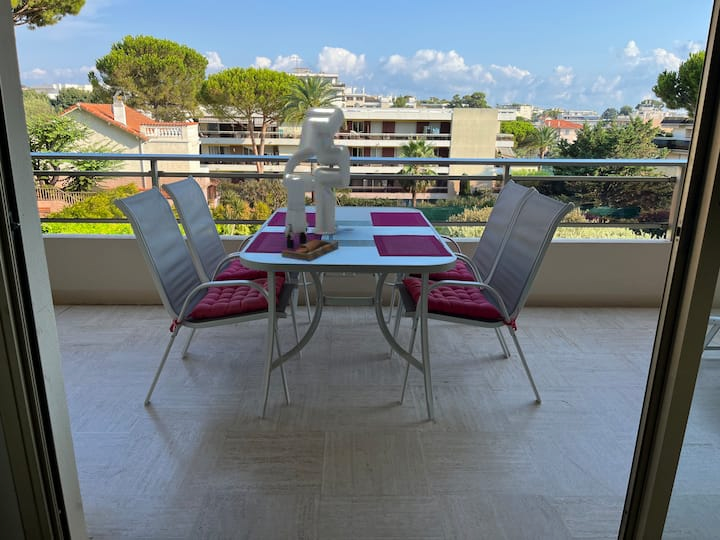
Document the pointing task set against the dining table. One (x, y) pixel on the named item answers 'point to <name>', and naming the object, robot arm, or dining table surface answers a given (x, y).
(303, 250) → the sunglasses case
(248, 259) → the dining table surface
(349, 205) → the dining table surface
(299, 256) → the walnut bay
